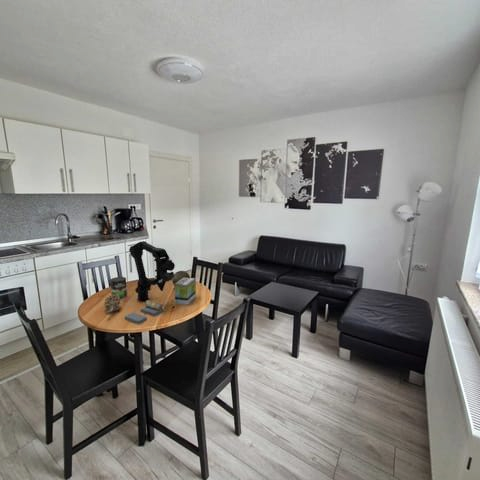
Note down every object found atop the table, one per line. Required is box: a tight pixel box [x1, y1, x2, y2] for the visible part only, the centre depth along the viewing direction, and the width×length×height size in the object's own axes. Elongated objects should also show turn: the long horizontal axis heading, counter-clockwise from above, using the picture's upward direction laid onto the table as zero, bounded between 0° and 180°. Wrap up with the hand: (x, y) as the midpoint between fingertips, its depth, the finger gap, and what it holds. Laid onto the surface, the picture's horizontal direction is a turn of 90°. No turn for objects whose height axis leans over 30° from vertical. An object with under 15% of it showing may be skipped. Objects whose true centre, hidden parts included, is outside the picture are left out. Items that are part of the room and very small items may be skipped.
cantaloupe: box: [171, 270, 191, 287], centre depth 200 cm, size 14×14×15 cm
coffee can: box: [109, 276, 128, 301], centre depth 183 cm, size 10×10×14 cm
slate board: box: [124, 306, 165, 325], centre depth 158 cm, size 20×12×2 cm, turn 151°
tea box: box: [174, 277, 197, 306], centre depth 179 cm, size 15×10×15 cm
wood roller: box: [144, 299, 163, 310], centre depth 163 cm, size 4×11×4 cm, turn 62°
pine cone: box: [104, 294, 122, 314], centre depth 160 cm, size 22×10×10 cm, turn 21°
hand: (161, 290), depth 168 cm, fingers closed
